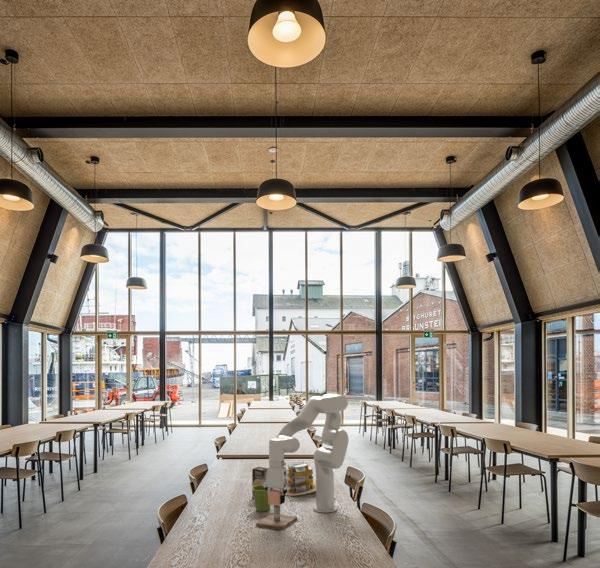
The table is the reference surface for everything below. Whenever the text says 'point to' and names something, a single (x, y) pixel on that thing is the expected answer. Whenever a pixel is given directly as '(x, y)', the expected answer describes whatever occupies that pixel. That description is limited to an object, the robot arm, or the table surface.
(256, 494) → the plant pot
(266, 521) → the post board
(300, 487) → the plate with layered stack
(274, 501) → the salmon orange cube
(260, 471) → the coffee box
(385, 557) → the table surface
